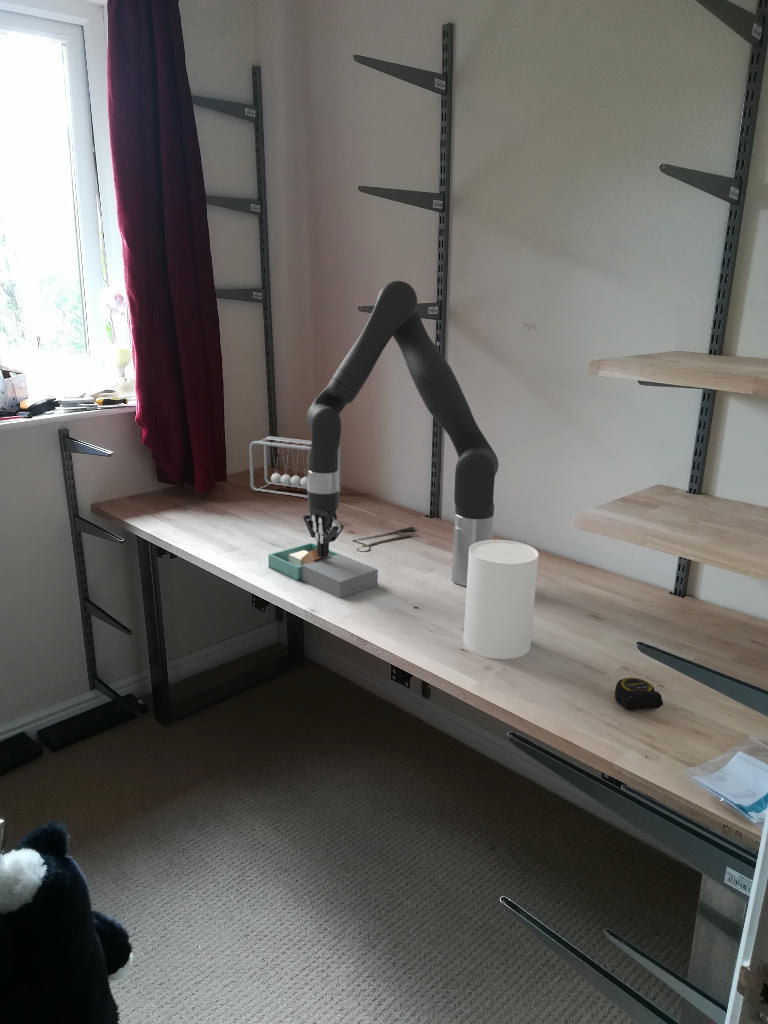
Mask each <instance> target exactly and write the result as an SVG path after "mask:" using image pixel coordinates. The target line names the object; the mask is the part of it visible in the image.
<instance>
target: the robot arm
mask: <svg viewBox="0 0 768 1024" xmlns="http://www.w3.org/2000/svg"><path fill="white" fill-rule="evenodd" d="M392 337H393V339H394V340H395V342H396V344H397V346H398V347H399V349H400V351H401V353H402V356H403V359H404V362H405V364H406V367H407V369H408V372H409V375H410V377H411V379H412V381H413V382H414V386H415V388H416V389H417V392H418V394H419V396H420V397H421V399H422V401H423V403H424V405H425V407H426V409H427V410H428V412H429V413H430V414H431V416H433V418H434V419H435V421H436V422H437V423H438V424H439V425H440V427H442V428H443V430H444V431H445V432H446V434H447V435H448V437H449V439H450V440H451V443H452V444H453V447H454V449H455V453H456V454H457V457H458V460H457V462H456V466H455V472H454V491H453V492H454V495H453V500H454V507H455V508H454V509H455V511H454V526H453V527H454V528H453V546H452V564H451V567H452V568H451V581H452V582H453V583H455V584H457V585H459V586H462V587H467V573H468V556H469V547H470V546H471V545H472V544H474V543H476V542H480V541H485V540H493V530H494V529H493V528H494V527H493V526H494V515H495V503H494V493H495V478H496V477H495V476H496V475H497V474H498V471H499V470H498V469H499V459H498V456H497V455H496V453H495V451H494V449H493V448H492V446H491V445H490V443H489V442H488V440H487V439H486V437H485V435H484V433H483V432H482V431H481V429H480V427H479V426H478V423H477V422H476V420H475V418H474V415H473V413H472V410H471V408H470V406H469V403H468V401H467V399H466V396H465V394H464V393H463V390H462V387H461V386H460V384H459V381H458V379H457V377H456V374H454V372H453V369H452V367H451V366H450V365H449V363H448V361H447V359H446V358H445V356H444V355H443V353H442V352H441V351H440V350H439V348H438V347H437V345H436V344H435V342H433V340H432V339H431V337H430V336H429V334H428V331H427V330H426V327H425V325H424V323H423V320H422V318H421V316H420V312H419V310H418V296H417V292H416V291H415V289H414V287H413V286H412V285H411V284H409V283H408V282H405V281H404V280H394V281H390V282H388V283H387V284H385V285H384V286H383V287H382V288H381V289H380V290H379V292H378V295H377V298H376V303H375V305H374V307H373V310H372V312H371V315H370V317H369V318H368V320H367V322H366V324H365V326H364V328H363V330H362V332H361V333H360V335H359V336H358V338H356V341H355V342H354V343H353V345H352V347H351V348H350V350H349V351H348V353H346V355H345V357H344V358H343V360H342V361H341V363H340V364H339V366H338V368H337V369H336V371H335V372H334V373H333V375H332V377H331V379H330V380H329V383H328V384H327V386H325V388H324V389H323V390H322V391H321V392H320V394H318V396H317V397H316V398H315V400H314V401H313V402H312V404H311V405H310V407H309V409H308V410H307V413H306V424H307V426H308V427H309V429H310V430H311V441H312V444H311V446H310V447H311V448H310V449H309V451H308V455H307V457H308V463H307V477H308V478H307V490H306V492H307V493H306V495H307V499H306V502H307V503H306V505H307V508H309V513H308V514H306V515H305V514H304V515H303V517H302V519H303V521H304V523H305V526H306V528H307V530H308V532H309V535H310V537H311V538H313V539H314V540H315V542H316V544H317V553H318V556H320V557H322V558H323V557H327V556H328V554H329V550H330V543H333V542H335V541H336V540H337V538H338V537H339V536H340V534H341V533H342V531H343V530H344V525H343V524H339V522H338V520H337V519H338V517H337V512H336V511H337V510H338V507H339V505H340V504H339V503H340V501H339V500H340V499H339V498H340V493H339V476H338V448H339V446H340V440H341V436H342V435H341V434H342V419H341V415H340V414H341V413H342V411H343V410H344V409H345V407H346V406H347V405H348V404H351V403H352V402H353V401H354V400H355V399H356V398H357V396H358V394H359V393H360V391H361V389H362V388H363V387H364V385H365V384H366V382H367V380H368V378H369V377H370V375H371V373H372V371H373V370H374V369H375V368H374V367H375V366H376V364H377V361H378V360H379V358H380V357H381V355H382V353H383V351H384V350H385V348H386V347H387V346H388V343H389V342H390V340H391V339H392Z"/></svg>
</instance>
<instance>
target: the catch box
mask: <svg viewBox="0 0 768 1024" xmlns="http://www.w3.org/2000/svg"><path fill="white" fill-rule="evenodd" d="M315 549H317V543H314V542H308V543H306V544H305V543H304V544H302V545H298V546H294V547H291V548H287V549H284V550H283V549H282V550H280V551H275V552H273V553H269V554H268V557H267V559H268V568H269V569H271V570H273V571H275V572H277V573H280V574H282V575H283V576H285V577H288V578H290V579H293V580H295V581H296V582H300V581H302V565H301V566H296V565H294V564H292V563H289V554H292V553H296V552H299V551H303V550H305V551H307V552H310V551H311V550H315ZM329 553H330V556H329V557H331V556H334V555H338V554H340V553H339V552H337V551H333V550H331V549H329ZM327 558H328V557H327Z"/></svg>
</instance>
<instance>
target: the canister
mask: <svg viewBox="0 0 768 1024" xmlns="http://www.w3.org/2000/svg"><path fill="white" fill-rule="evenodd" d="M539 556H540V555H539V551H538V550H537V549H536V548H534V547H533V546H531V545H528V544H526V543H523V542H520V541H513V540H507V539H506V540H505V539H492V540H485V541H480V542H476V543H474V544H472V545H471V546H470V547H469V556H468V573H467V586H466V591H465V607H464V608H465V609H464V625H463V626H464V627H463V638H462V639H463V640H462V641H463V645H464V646H465V648H466V649H467V650H469V652H472V653H474V654H475V655H477V656H480V657H484V658H488V659H494V660H512V659H518V658H521V657H523V656H525V655H527V654H528V653H529V652H530V650H531V641H532V632H533V631H532V630H533V621H534V608H535V599H536V588H537V577H538V567H539Z"/></svg>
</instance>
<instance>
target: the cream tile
mask: <svg viewBox="0 0 768 1024" xmlns="http://www.w3.org/2000/svg"><path fill="white" fill-rule="evenodd" d="M307 553H308V552H307V551H305V550H303V551H299V552H296V553H292V554H289V563H292V564H294V565H296V566H301V565H304V564H303V562H302V560H301V558H302V557H304V556H305V555H306V554H307Z"/></svg>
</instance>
